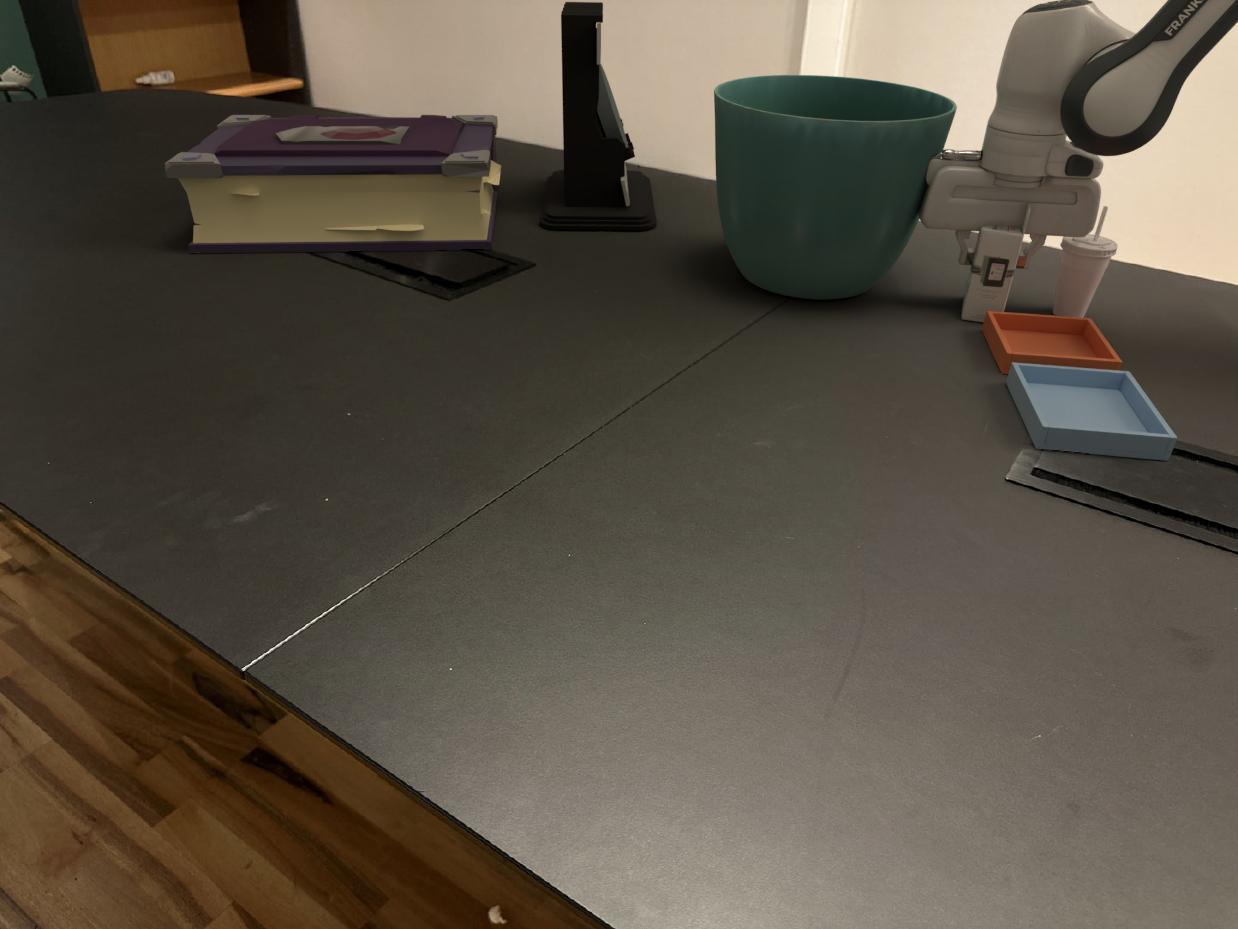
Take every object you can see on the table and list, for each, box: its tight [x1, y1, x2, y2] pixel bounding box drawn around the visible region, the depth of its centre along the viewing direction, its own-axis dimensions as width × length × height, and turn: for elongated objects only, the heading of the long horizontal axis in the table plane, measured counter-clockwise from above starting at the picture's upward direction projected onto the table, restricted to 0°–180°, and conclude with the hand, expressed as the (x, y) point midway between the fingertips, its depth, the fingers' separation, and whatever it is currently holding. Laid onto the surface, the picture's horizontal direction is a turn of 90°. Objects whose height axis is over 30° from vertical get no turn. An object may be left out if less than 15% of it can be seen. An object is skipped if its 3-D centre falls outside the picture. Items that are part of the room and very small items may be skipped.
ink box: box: [960, 202, 1030, 323], centre depth 113 cm, size 9×5×15 cm, turn 160°
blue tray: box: [1005, 362, 1178, 462], centre depth 92 cm, size 12×14×3 cm
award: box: [539, 1, 658, 231], centre depth 146 cm, size 30×19×30 cm, turn 1°
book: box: [164, 114, 502, 254], centre depth 142 cm, size 33×45×14 cm
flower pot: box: [713, 74, 958, 300], centre depth 120 cm, size 30×30×24 cm
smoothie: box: [1052, 205, 1119, 318], centre depth 113 cm, size 6×6×14 cm
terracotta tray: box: [981, 311, 1123, 375], centre depth 105 cm, size 12×12×3 cm
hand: (992, 265), depth 113 cm, fingers closed on ink box, 5 cm apart
